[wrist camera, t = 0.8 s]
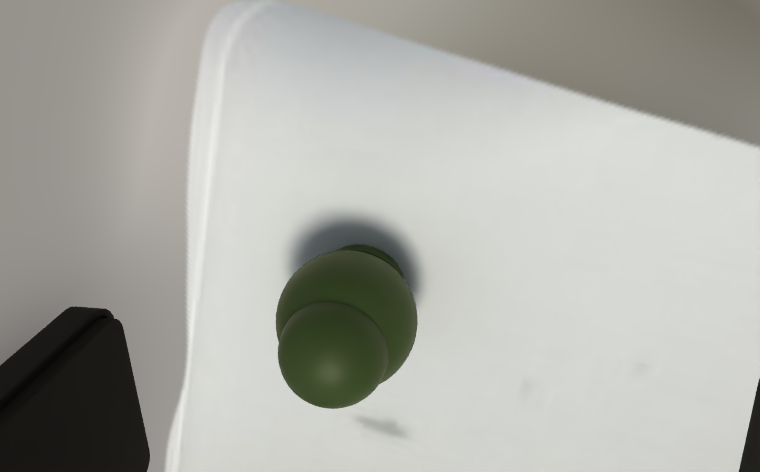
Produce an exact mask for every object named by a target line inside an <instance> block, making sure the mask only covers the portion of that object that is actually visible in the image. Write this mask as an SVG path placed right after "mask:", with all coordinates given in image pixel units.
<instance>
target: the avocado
mask: <svg viewBox="0 0 760 472" xmlns="http://www.w3.org/2000/svg"><path fill="white" fill-rule="evenodd" d="M416 330H417V311H416V305H415V302H414V299H413V296H412V293H411V291H410V289H409V287H408V285H407V283H406V282H405V280H404V277H403V274H402V272H401V270H400V268H399V266H398V265H397V263H396V262H395V261H394V260H393V259H392V258H391V257H390V256H389V255H387V254H386V253H385V252H383V251H381V250H379V249H377V248H374V247H371V246H366V245H351V246H346V247H343V248H341V249H339V250H337V251H334V252H330V253H326V254H323V255H321V256H318V257H316V258H314V259H312V260H310V261H309V262H307V263H306V264H305V265H303V266H302V267H301V268H300V269H299V270H298V271H297V272H296V273H295V274H294V275H293V276H292V277H291V279H290V280H289V281H288V283H287V284H286V286H285V288H284V290H283V292H282V294H281V297H280V299H279V302H278V307H277V313H276V331H277V337H278V340H279V346H278V360H279V365H280V369H281V373H282V375H283V377H284V379H285V381H286V383H287V384H288V386H289V387H290V388H291V390H292V391H293V392H294V393H295V394H296V395H298V396H299V397H300V398H302V399H303V400H304V401H306V402H308V403H310V404H312V405H315V406H318V407H323V408H331V409H334V408H343V407H347V406H351V405H354V404H356V403H358V402H360V401H361V400H363V399H365V398H366V397H367V396H369V395H370V394H371V393H372V392H373V391H374V390H375V389H376V387H377V386H378V385H379V384H381V383H382V382H384V381H386V380H387V379H388V378H390V377H391V376H392V375H393V374H394V373H395V372H396V371H397V370H398V369H399V368H400V367H401V366H402V365H403V363H404V362H405V360H406V359H407V357H408V356H409V353H410V351H411V349H412V347H413V344H414V341H415V337H416Z"/></svg>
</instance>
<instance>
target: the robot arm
mask: <svg viewBox="0 0 760 472" xmlns="http://www.w3.org/2000/svg"><path fill="white" fill-rule="evenodd" d="M149 461H150V453H149V447H148V442H147V437H146V433H145V428H144V423H143V418H142V414H141V409H140V404H139V400H138V396H137V391H136V386H135V381H134V376H133V372H132V367H131V362H130V358H129V353H128V348H127V344H126V339H125V334H124V330H123V326H122V324H121V322H120V321H119V320H117V319H114V316H113V315H112V313H111V312H110V311H109V310H107V309H99V308H87V307H70V308H68V309H66V310H65V311H64V312H62V313H61V314H60V315H59V316H58V317H57V318H55V319H54V320H53V321H52V322H51V323H50V324H48V325H47V326H46V327H45V328H44V329H43V330H41V331H40V332H39V333H38V334H37V335H36V336H34V337H33V338H32V339H31V340H30V341H29V342H27V343H26V344H25V345H24V346H23V347H22V348H20V349H19V350H18V351H17V352H16V353H14V354H13V355H12V356H11V357H10V358H9V359H7V360H6V361H5V362H4V363H3V364H2V365H1V366H0V472H147V469H148V466H149ZM739 472H760V379H759V382H758V387H757V391H756V396H755V400H754V405H753V410H752V414H751V419H750V423H749V428H748V432H747V437H746V442H745V446H744V451H743V455H742V460H741V464H740V469H739Z"/></svg>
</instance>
